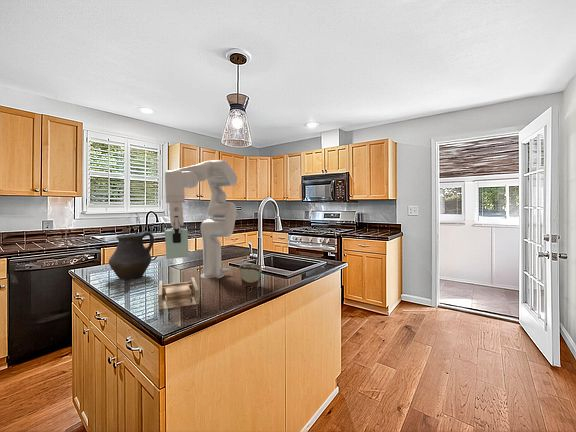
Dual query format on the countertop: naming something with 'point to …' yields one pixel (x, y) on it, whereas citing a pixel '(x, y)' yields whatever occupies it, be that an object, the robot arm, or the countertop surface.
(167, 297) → the offcut
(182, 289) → the offcut
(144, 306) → the countertop surface
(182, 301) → the offcut
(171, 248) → the pale green slab
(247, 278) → the food container
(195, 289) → the rack
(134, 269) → the pitcher
